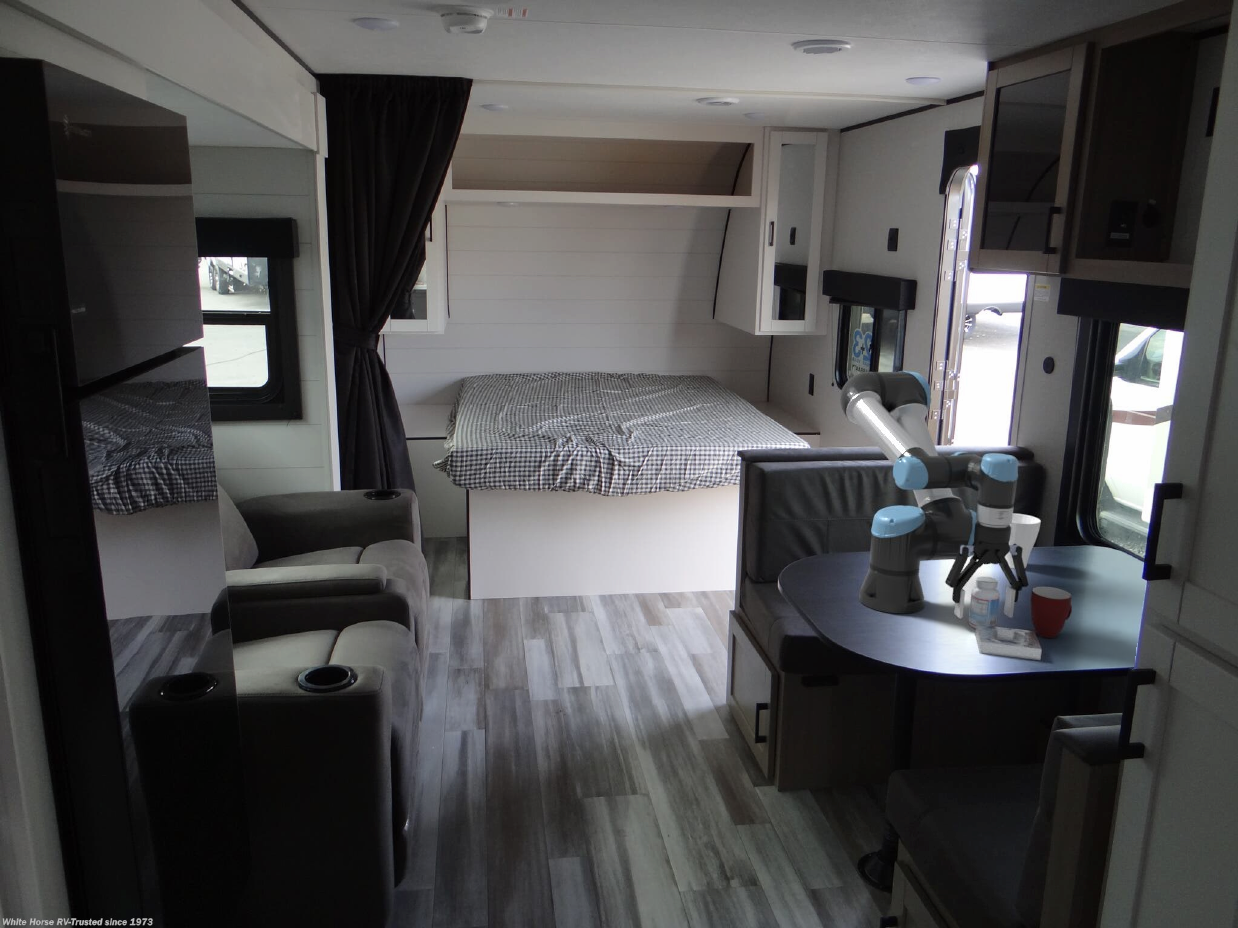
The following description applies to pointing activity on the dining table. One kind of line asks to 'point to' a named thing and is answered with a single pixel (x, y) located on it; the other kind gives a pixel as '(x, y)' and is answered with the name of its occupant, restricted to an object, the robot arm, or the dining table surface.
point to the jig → (1023, 638)
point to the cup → (1023, 536)
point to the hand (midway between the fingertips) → (983, 615)
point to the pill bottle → (984, 602)
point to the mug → (1049, 610)
